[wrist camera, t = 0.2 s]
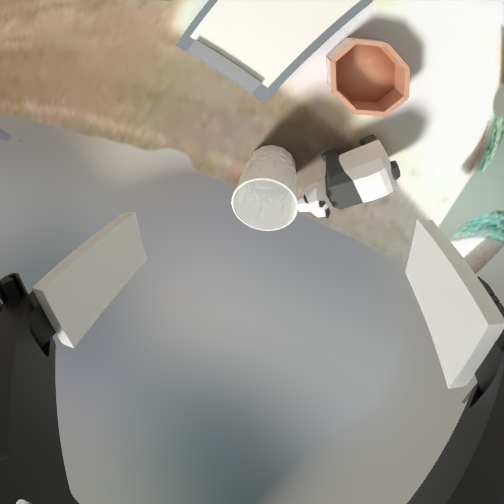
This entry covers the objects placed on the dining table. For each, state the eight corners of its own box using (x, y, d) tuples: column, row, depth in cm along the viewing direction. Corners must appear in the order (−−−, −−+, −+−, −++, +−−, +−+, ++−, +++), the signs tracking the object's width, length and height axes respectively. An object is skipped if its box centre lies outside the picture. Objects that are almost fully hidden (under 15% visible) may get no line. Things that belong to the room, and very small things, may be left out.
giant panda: (379, 128, 32) (399, 161, 25) (392, 160, 35) (411, 199, 29) (287, 167, 39) (284, 207, 33) (305, 194, 42) (305, 237, 36)
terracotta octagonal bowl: (361, 24, 22) (370, 25, 19) (410, 77, 25) (424, 86, 22) (311, 69, 28) (313, 75, 25) (362, 117, 31) (369, 129, 28)
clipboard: (275, -65, 14) (274, -69, 13) (371, 1, 19) (374, 1, 18) (178, 44, 27) (173, 46, 26) (264, 101, 32) (263, 104, 31)
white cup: (294, 137, 35) (292, 174, 29) (302, 184, 41) (301, 228, 34) (239, 145, 38) (223, 182, 31) (252, 189, 43) (241, 233, 36)
